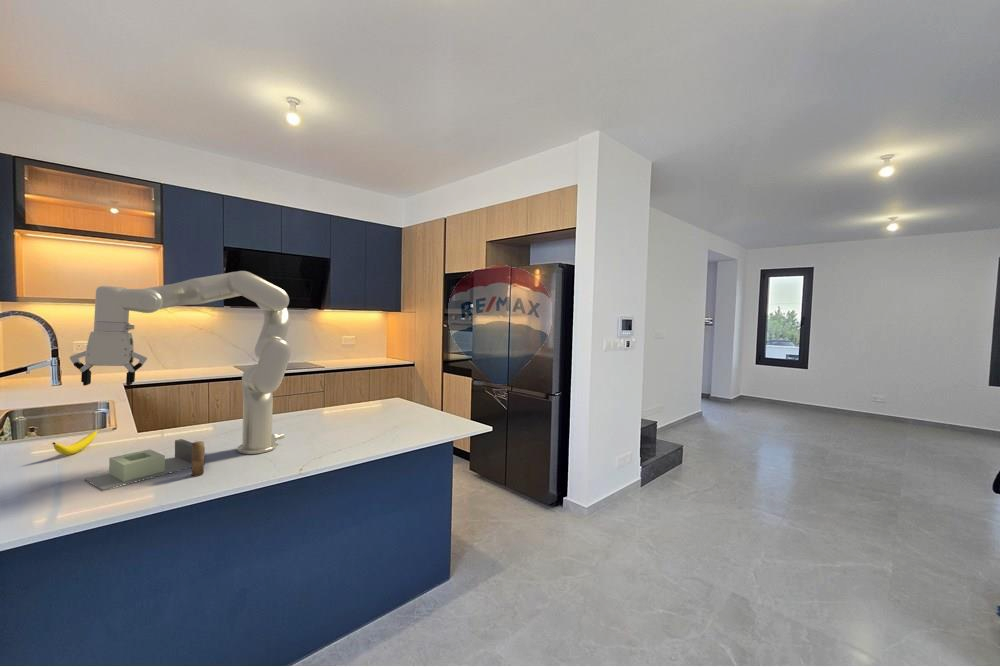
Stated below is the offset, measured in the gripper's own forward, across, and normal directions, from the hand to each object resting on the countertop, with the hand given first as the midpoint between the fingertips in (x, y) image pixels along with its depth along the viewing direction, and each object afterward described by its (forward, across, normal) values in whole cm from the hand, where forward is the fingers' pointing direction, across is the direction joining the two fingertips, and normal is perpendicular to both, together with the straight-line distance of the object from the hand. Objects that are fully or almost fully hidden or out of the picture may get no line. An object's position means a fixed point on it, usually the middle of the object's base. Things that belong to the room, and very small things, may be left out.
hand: (108, 384), depth 125 cm
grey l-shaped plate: (+27, -10, 0) cm, 29 cm away
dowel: (+27, -24, +8) cm, 37 cm away
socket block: (+27, -8, +2) cm, 29 cm away
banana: (+28, +15, -28) cm, 43 cm away
